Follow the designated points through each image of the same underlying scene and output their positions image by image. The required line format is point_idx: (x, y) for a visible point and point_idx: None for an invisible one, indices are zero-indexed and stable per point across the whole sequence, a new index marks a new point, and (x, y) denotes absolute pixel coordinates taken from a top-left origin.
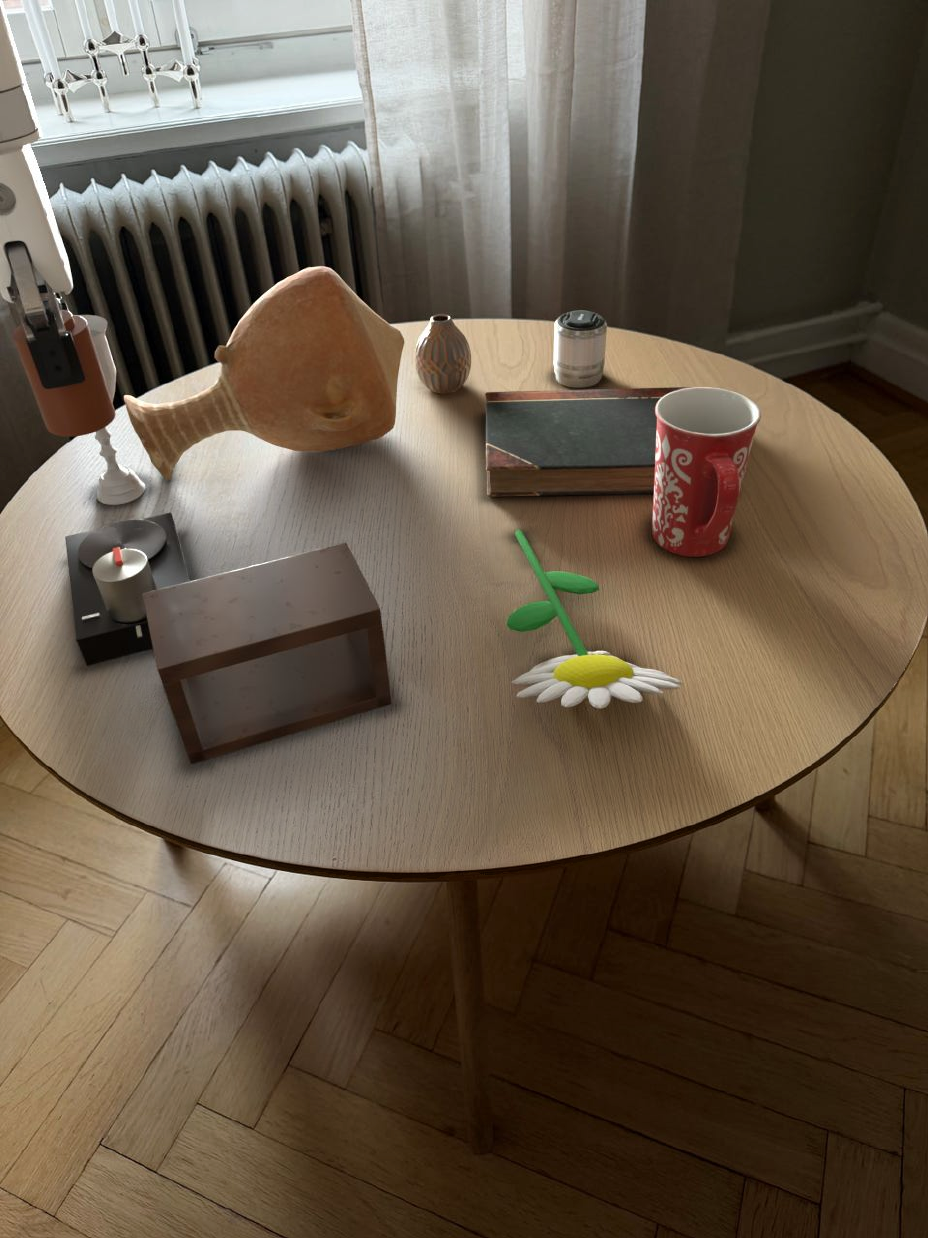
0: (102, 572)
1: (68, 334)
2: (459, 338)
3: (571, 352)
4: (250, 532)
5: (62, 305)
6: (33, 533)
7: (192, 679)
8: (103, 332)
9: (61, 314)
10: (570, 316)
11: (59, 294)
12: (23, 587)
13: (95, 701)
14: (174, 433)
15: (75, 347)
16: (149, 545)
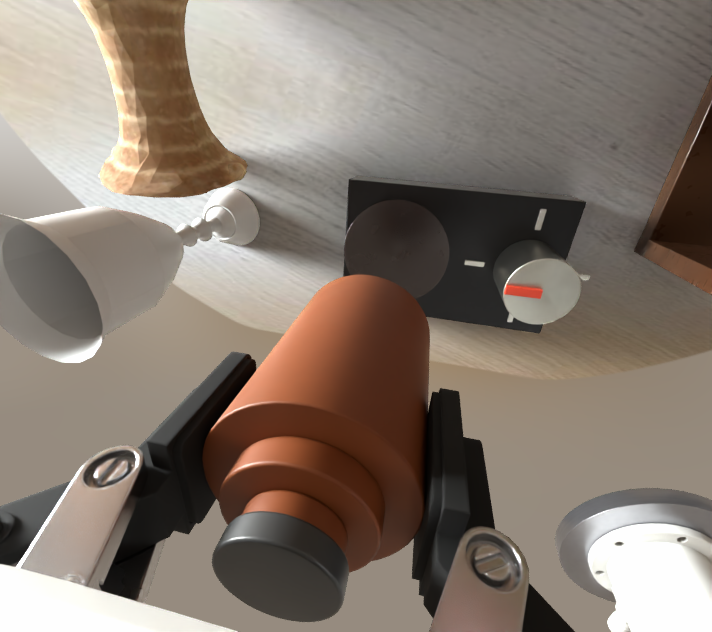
0: (543, 315)
1: (467, 515)
2: None
3: None
4: (394, 74)
5: (178, 450)
6: (281, 314)
7: (668, 235)
8: (42, 230)
9: (307, 504)
10: None
11: (137, 473)
12: None
13: (589, 321)
14: (194, 130)
15: (453, 458)
16: (417, 225)
